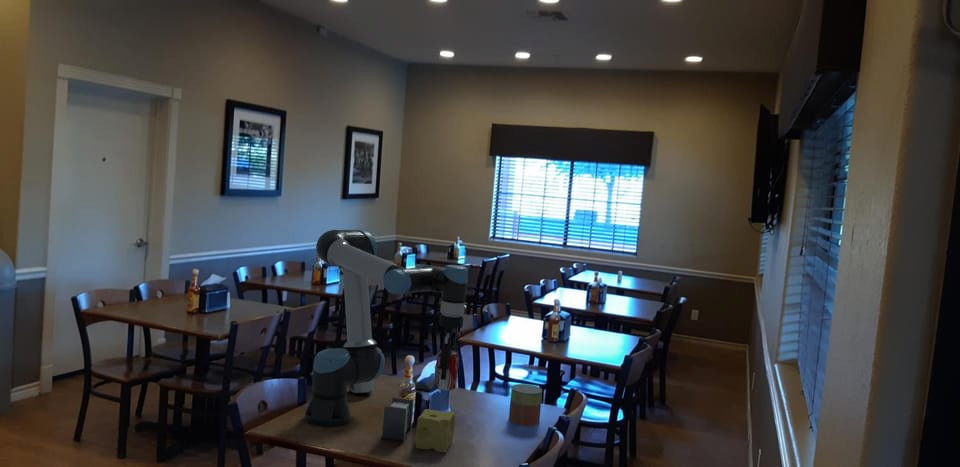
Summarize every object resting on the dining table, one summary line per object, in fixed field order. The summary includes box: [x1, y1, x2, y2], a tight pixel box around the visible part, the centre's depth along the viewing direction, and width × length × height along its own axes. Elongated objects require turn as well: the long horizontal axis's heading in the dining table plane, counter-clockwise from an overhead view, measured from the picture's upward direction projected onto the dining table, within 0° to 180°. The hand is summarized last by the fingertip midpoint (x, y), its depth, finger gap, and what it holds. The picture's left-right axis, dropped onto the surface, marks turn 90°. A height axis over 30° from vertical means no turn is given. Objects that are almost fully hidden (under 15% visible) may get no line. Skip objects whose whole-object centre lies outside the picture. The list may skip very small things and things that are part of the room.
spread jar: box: [347, 380, 375, 397], centre depth 264 cm, size 12×11×12 cm
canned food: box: [508, 383, 544, 428], centre depth 249 cm, size 11×11×12 cm
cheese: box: [415, 408, 456, 454], centre depth 219 cm, size 10×11×10 cm
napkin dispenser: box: [381, 396, 414, 444], centre depth 224 cm, size 10×7×11 cm
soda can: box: [434, 349, 460, 392], centre depth 219 cm, size 7×7×12 cm
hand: (444, 385), depth 219 cm, fingers closed on soda can, 7 cm apart
